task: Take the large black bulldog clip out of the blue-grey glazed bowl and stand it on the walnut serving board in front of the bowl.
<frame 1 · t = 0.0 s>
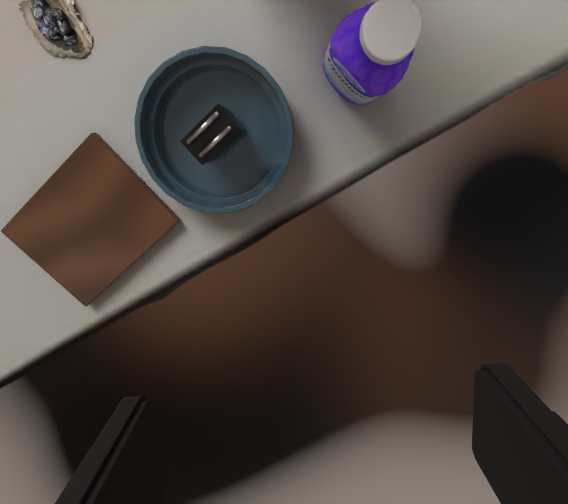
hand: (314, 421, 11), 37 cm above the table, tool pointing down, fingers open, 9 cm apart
clip: (220, 135, 44), resting on bowl
bowl: (220, 135, 44), on the table
blueberries: (62, 24, 41), on the table
serving board: (93, 224, 47), on the table
bottle: (352, 72, 42), on the table
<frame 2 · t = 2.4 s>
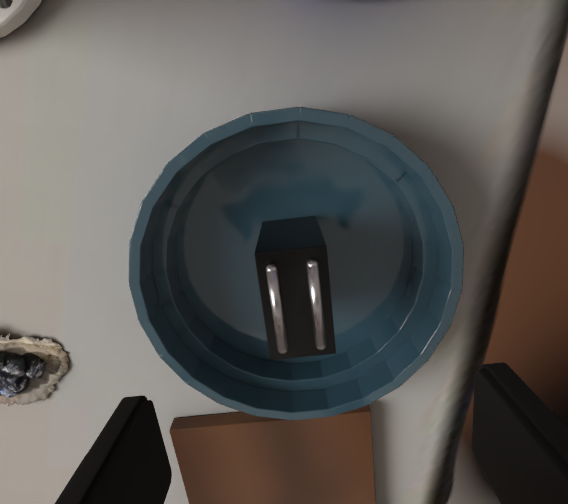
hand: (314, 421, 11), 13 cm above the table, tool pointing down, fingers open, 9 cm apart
clip: (294, 262, 23), resting on bowl
bowl: (293, 260, 23), on the table
blueberries: (14, 359, 25), on the table
serving board: (284, 500, 29), on the table
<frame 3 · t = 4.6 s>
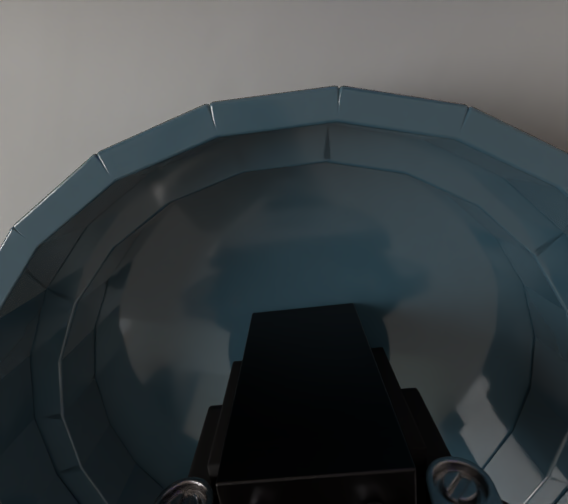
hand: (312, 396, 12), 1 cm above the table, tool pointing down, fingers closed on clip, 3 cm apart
clip: (311, 381, 12), resting on bowl, touching gripper
bowl: (310, 376, 13), on the table
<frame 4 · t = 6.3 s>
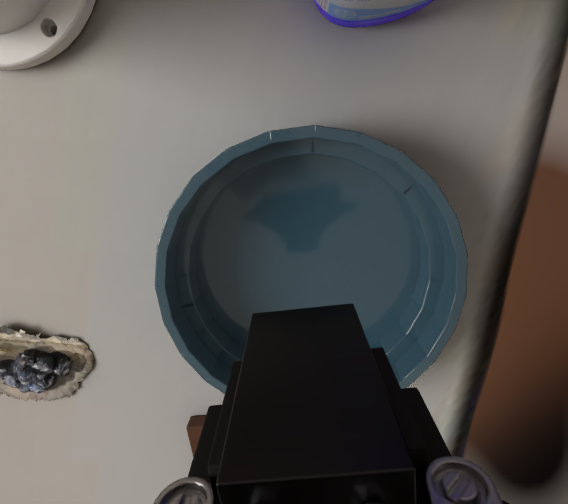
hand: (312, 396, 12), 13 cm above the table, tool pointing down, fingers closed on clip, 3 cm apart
clip: (311, 381, 12), point 12 cm above the table, touching gripper
bowl: (306, 266, 24), on the table
blueberries: (42, 357, 27), on the table
serving board: (294, 500, 30), on the table
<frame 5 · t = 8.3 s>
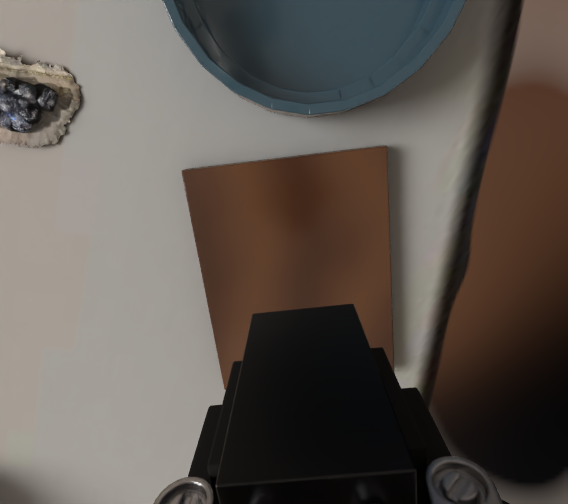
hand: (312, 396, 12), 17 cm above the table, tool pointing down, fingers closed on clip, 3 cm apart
clip: (311, 382, 12), point 16 cm above the table, touching gripper
blueberries: (25, 96, 25), on the table
serving board: (296, 275, 29), on the table
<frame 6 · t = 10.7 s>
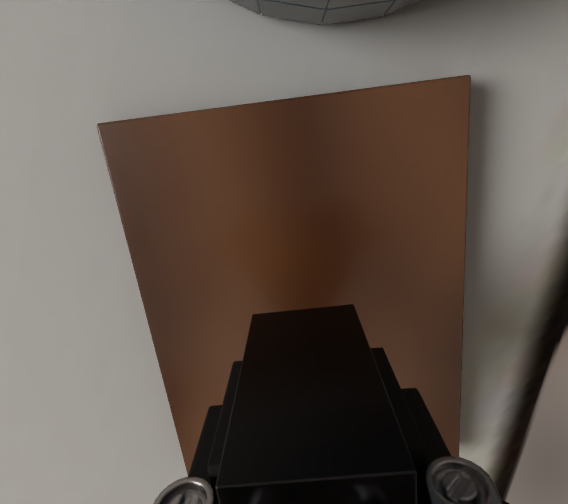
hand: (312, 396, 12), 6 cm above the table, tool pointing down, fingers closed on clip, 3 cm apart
clip: (311, 382, 12), point 5 cm above the table, touching gripper
serving board: (302, 305, 17), on the table
when the fingers open (2 cm above the table, at t = 12.0 s): clip stays where it is, resting on serving board.
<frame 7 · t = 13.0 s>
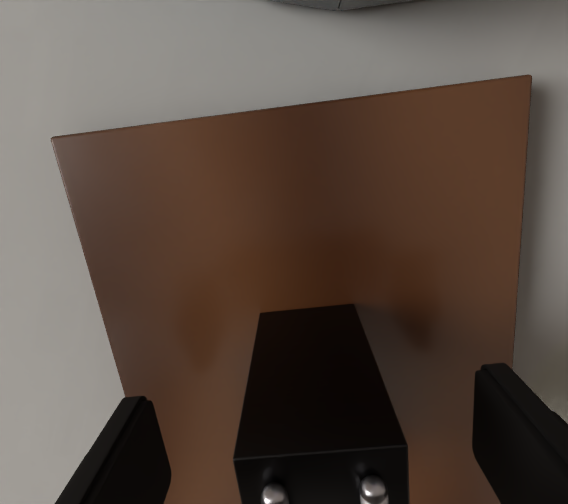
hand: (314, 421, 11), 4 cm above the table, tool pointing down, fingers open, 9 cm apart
clip: (314, 377, 13), point 1 cm above the table, touching serving board
serving board: (311, 355, 14), on the table
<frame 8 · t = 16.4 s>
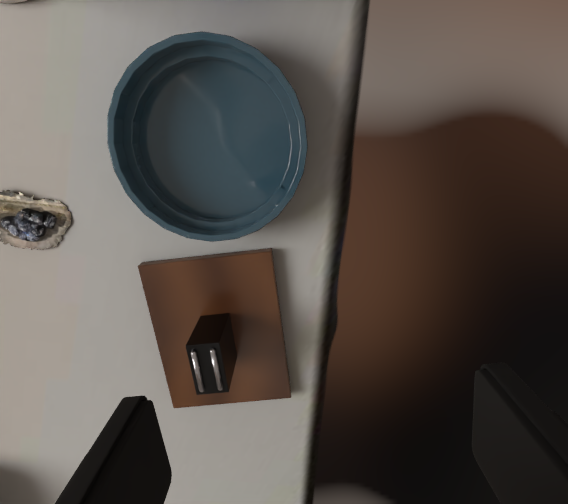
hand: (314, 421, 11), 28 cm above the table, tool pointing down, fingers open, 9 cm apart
clip: (219, 336, 41), point 1 cm above the table, touching serving board
bowl: (215, 144, 36), on the table
blueberries: (35, 217, 38), on the table
serving board: (220, 330, 42), on the table
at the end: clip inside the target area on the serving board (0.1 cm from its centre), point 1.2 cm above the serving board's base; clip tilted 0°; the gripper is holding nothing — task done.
